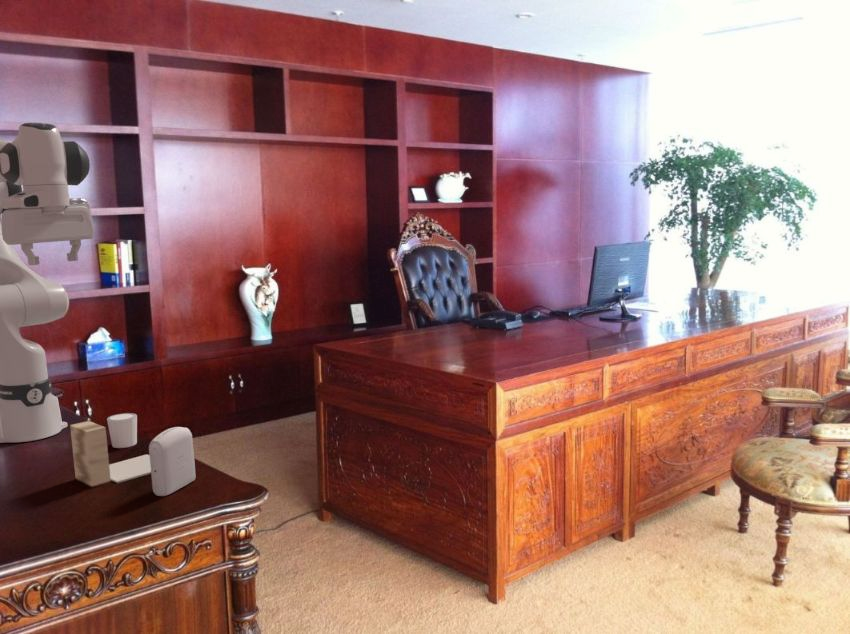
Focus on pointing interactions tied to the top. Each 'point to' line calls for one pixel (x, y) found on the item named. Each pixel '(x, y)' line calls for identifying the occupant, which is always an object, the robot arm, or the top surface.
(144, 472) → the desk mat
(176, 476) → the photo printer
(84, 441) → the oak block
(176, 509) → the top surface
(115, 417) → the white tapered cup
